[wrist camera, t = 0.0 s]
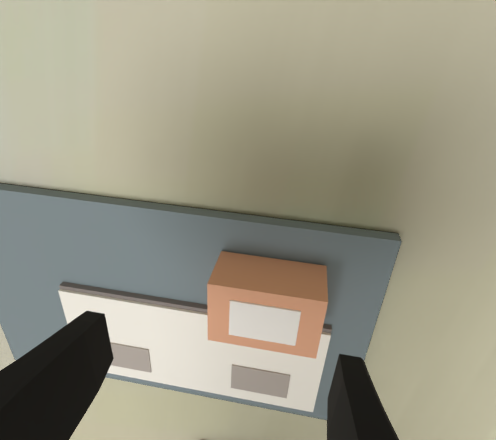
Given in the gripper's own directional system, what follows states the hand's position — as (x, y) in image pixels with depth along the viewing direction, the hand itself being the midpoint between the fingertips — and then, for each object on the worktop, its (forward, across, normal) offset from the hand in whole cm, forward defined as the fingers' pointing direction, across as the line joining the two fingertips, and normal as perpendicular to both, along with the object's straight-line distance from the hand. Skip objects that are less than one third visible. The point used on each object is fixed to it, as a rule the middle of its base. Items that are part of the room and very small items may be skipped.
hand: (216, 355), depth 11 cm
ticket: (+10, +4, +11) cm, 16 cm away
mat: (+10, +6, +8) cm, 15 cm away
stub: (+10, -1, +5) cm, 11 cm away
